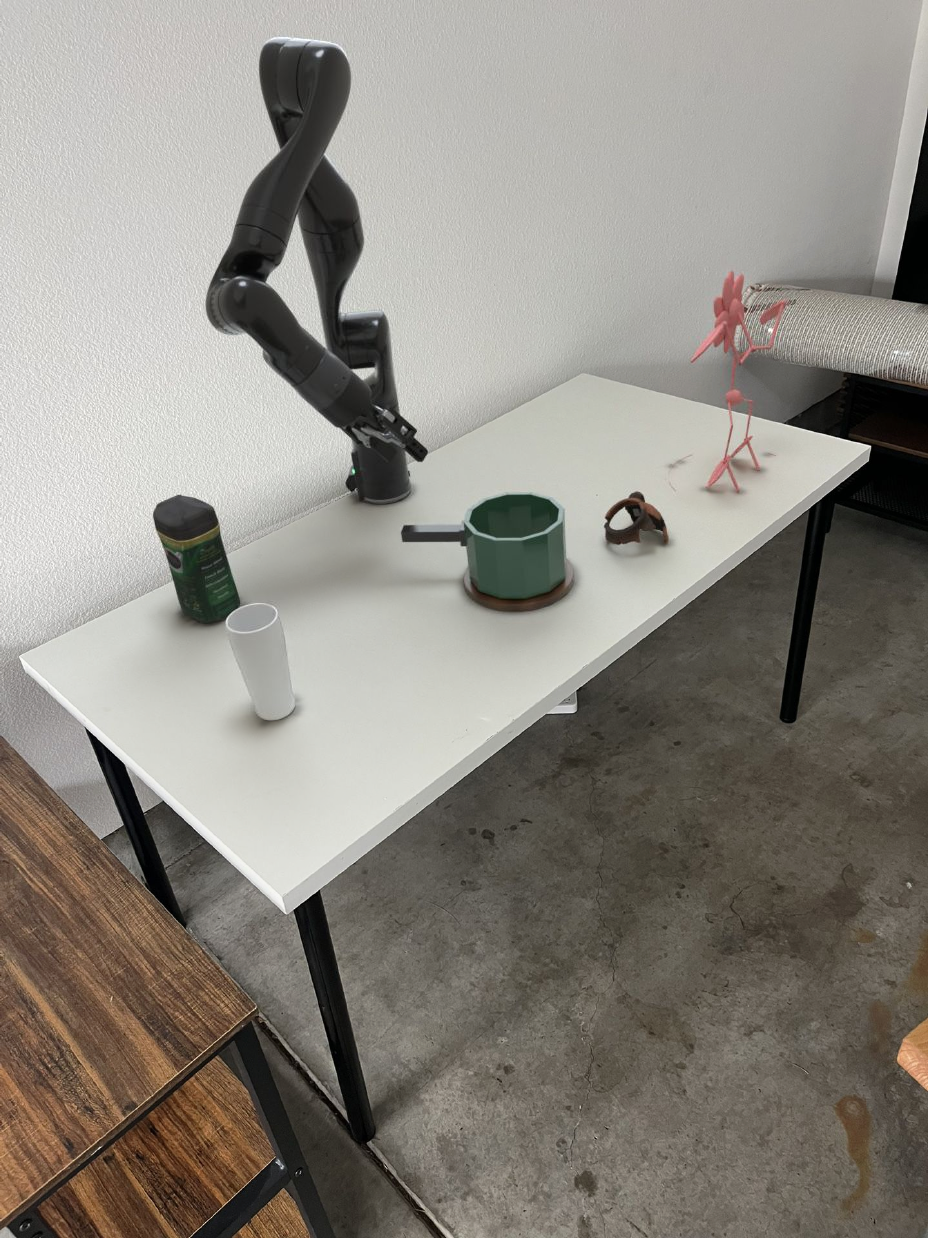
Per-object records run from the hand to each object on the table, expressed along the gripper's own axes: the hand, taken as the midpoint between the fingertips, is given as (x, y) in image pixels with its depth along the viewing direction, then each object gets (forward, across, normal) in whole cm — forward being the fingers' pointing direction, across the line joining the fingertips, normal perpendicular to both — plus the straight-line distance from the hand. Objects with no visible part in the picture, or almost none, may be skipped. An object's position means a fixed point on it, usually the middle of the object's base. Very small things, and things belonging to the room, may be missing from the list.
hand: (408, 457), depth 144 cm
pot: (+19, -6, +8) cm, 21 cm away
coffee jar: (-5, +20, +33) cm, 39 cm away
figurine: (+49, -10, -33) cm, 60 cm away
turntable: (+23, -9, +7) cm, 25 cm away
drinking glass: (-1, -8, +42) cm, 43 cm away
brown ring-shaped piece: (+36, -15, -10) cm, 40 cm away
